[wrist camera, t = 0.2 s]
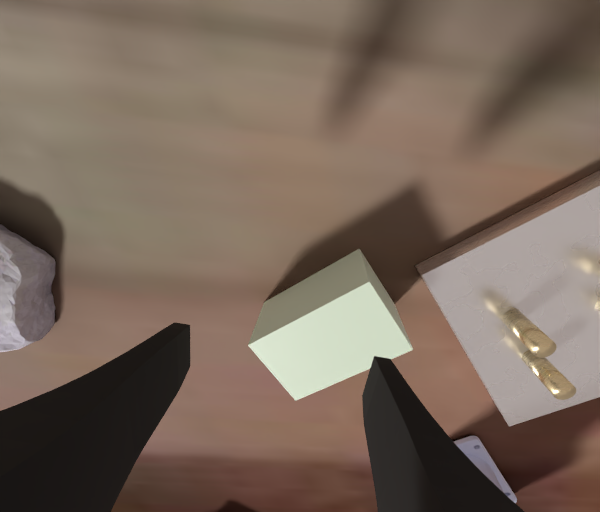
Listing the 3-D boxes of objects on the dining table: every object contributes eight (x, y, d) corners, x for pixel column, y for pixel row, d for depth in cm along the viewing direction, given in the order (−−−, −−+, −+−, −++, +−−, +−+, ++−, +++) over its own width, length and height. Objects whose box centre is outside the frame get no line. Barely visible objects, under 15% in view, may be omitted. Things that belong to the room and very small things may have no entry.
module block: (394, 303, 21) (413, 349, 16) (301, 348, 23) (295, 400, 19) (359, 247, 20) (369, 281, 15) (264, 301, 22) (248, 345, 17)
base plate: (689, 343, 20) (784, 397, 16) (498, 409, 24) (535, 467, 20) (636, 151, 16) (744, 156, 12) (414, 265, 20) (438, 300, 15)
